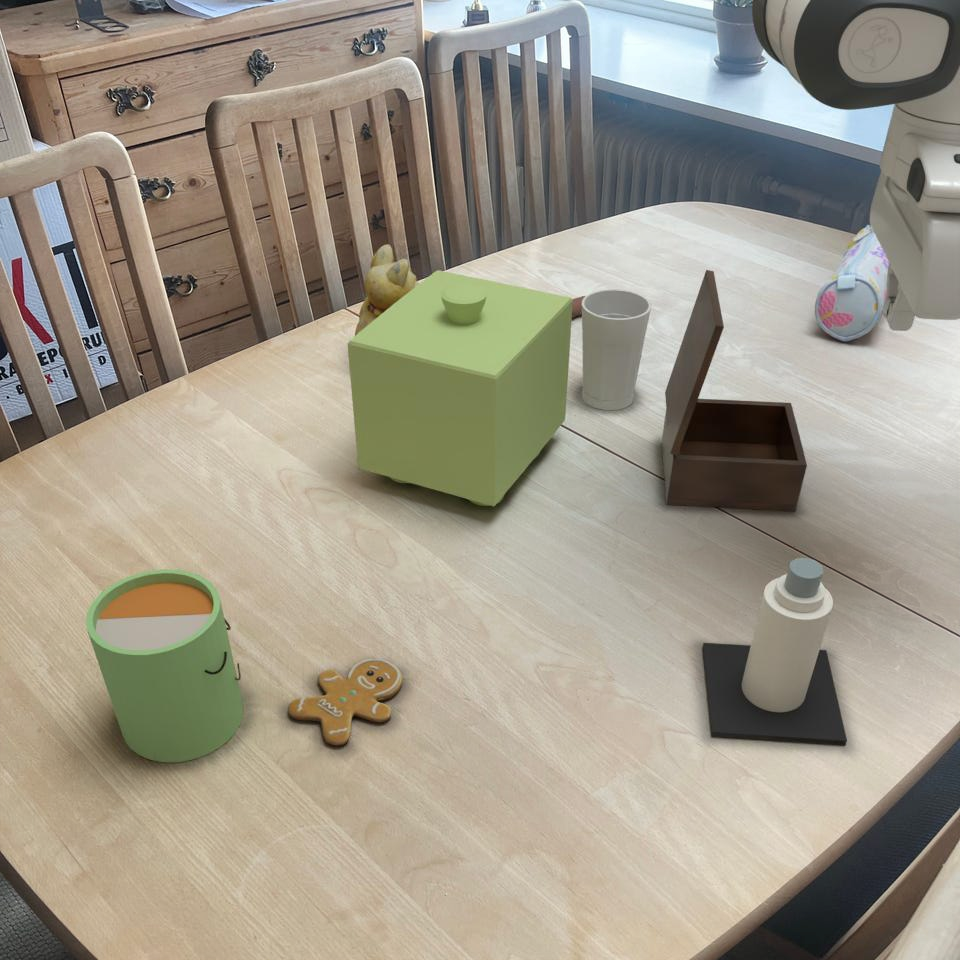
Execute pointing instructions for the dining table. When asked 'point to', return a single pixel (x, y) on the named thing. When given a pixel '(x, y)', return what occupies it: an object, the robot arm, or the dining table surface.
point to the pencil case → (854, 289)
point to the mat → (748, 721)
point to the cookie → (350, 698)
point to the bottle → (787, 637)
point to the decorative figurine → (384, 285)
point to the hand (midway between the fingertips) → (895, 322)
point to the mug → (167, 664)
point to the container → (460, 384)
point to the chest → (736, 457)
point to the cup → (612, 346)
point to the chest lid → (693, 361)
